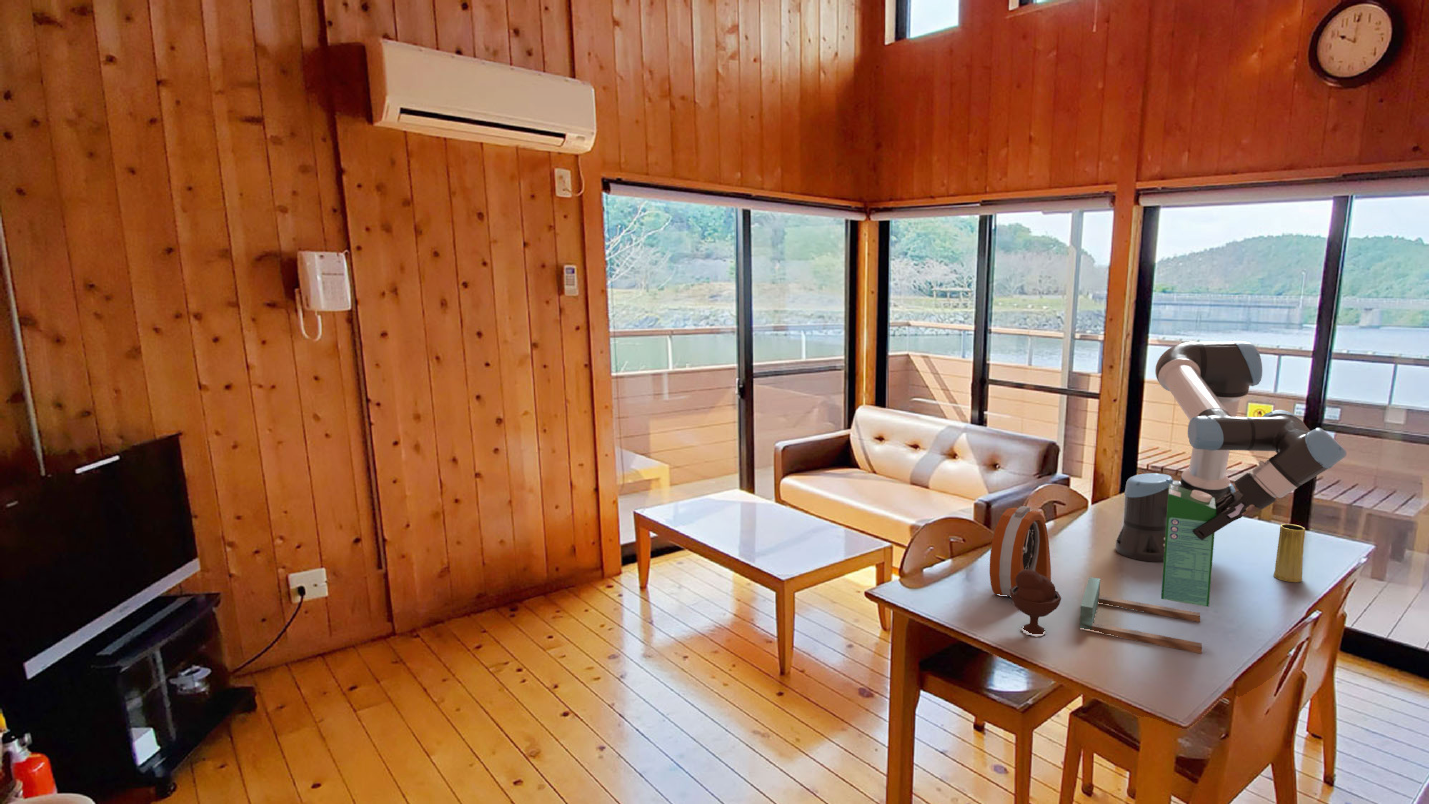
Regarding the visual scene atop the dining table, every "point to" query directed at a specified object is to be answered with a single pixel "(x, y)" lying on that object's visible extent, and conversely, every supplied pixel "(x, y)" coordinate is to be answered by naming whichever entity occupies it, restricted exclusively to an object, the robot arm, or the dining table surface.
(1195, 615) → the track
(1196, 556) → the milk carton
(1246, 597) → the dining table surface
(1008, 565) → the alarm clock
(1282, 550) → the vase
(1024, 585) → the ice cream bowl
